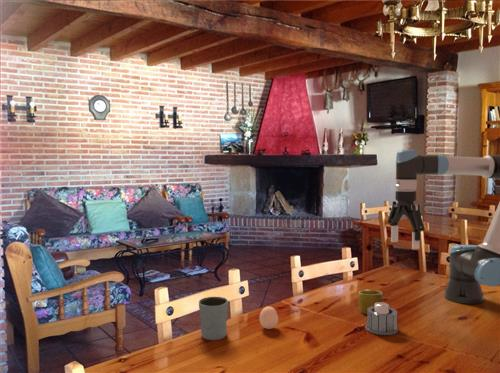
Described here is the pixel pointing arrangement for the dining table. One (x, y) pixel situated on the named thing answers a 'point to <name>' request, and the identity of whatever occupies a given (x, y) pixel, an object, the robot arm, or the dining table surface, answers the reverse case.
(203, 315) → the grey cup
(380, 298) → the mug
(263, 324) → the egg
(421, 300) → the dining table surface
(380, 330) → the ring
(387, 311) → the piston post
